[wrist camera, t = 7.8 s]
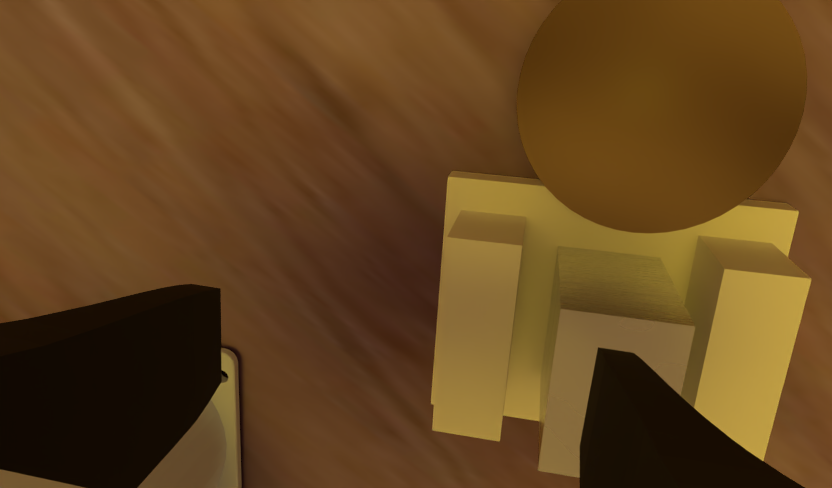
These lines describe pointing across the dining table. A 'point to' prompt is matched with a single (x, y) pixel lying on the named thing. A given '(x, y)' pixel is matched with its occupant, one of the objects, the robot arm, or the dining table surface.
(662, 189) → the bobbin
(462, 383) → the notch board
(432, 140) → the dining table surface
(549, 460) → the tab
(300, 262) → the dining table surface
